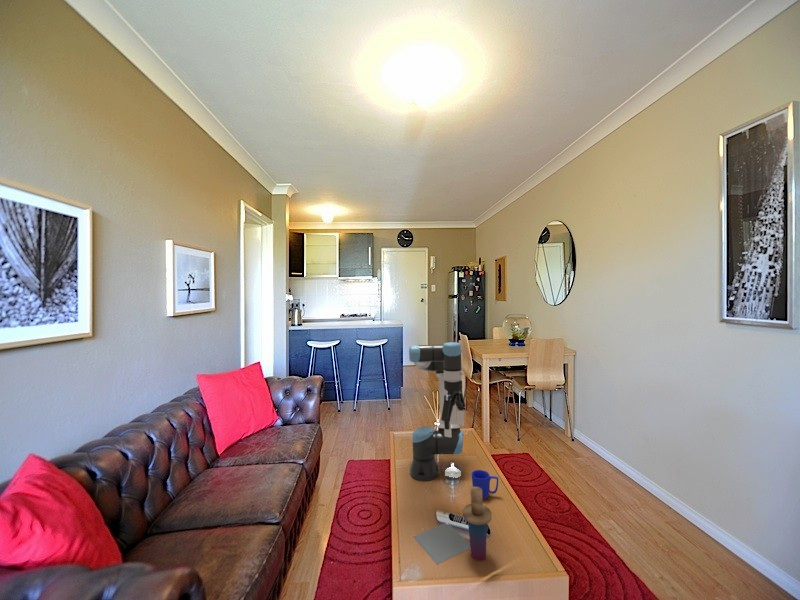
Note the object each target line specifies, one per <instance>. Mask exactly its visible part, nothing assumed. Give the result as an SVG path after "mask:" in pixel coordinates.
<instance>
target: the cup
mask: <svg viewBox="0 0 800 600" xmlns="http://www.w3.org/2000/svg"><path fill="white" fill-rule="evenodd" d="M467 525H468V534H469V543H470V555H471V557H472V559H474V560H475V561H477V562H482V561H484V560H485V559H486V558H487V532H488V531H487V530H488V523H487V524H485V525H475V524H471V523H469V522H468V521H467Z"/></svg>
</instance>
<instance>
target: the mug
mask: <svg viewBox="0 0 800 600" xmlns="http://www.w3.org/2000/svg"><path fill="white" fill-rule="evenodd" d="M491 479H493V480H495V479H496V487H495V489H494V490H493V491H491V490H490V485H491ZM471 483H472V487H480V488H481V489H482V499H483V500H484V499H487V498H488V497H489V494H492V495H493V494H496V493H497V491H498V489H499V488H498V487H499V477H498V476H496V475H495V476H494V475H490V473H489V472H488V471H486V470H483V469H475V470H473V471H472V472H471Z"/></svg>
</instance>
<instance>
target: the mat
mask: <svg viewBox="0 0 800 600" xmlns="http://www.w3.org/2000/svg"><path fill="white" fill-rule="evenodd" d="M412 537H413V538H414V540H415V541H416V542H417V543H418V544H419V545H420V547H421V548H422V549H423V550H424V551H425V553H426V554H427V555H428V556H429V557H430V559H432V561H433V562H434V563H435V564H436V565H439V564H442V563H443V562H445V561H448V560H449V559H452V558H454V557H455V556H458V555H460V554H462V553H464V552H466V551H468V550H471V548H470V542H469V541H467V539H466V538H464V536H462V535H461V534H460V533H459V532H458V531H457V530H456V529H455V528H454V527H453V526H452V525H451V524H449V525H446V524H444V523H442V524H440V525H437V526H435V527H432V528H429V529H427V530H425V531H423V532H421V533H418V534H416V535H413V536H412Z"/></svg>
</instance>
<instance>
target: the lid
mask: <svg viewBox="0 0 800 600" xmlns="http://www.w3.org/2000/svg"><path fill="white" fill-rule="evenodd" d="M483 501H484V499H482V489H481V488H480V487H473V486H472V487H470V504H467V505H465V506H464V507H463V509H462V517H463V519H464V520H465V521H466V522H467V523H468V522H469V523H471V524H475V525H485V524H487V525H488V524H489V523H490V522H492V519H493V512H492V510H491V509H490V508H489V507H487V506H485V505H484V504H483Z"/></svg>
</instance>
